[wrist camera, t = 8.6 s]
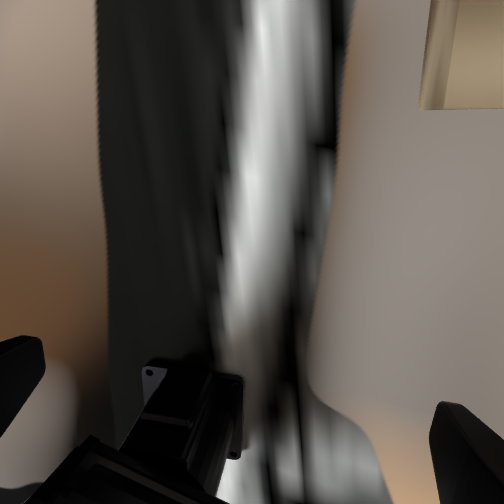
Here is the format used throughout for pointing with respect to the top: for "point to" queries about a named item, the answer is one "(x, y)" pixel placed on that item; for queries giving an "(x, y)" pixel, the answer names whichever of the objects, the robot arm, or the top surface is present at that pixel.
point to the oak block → (463, 56)
